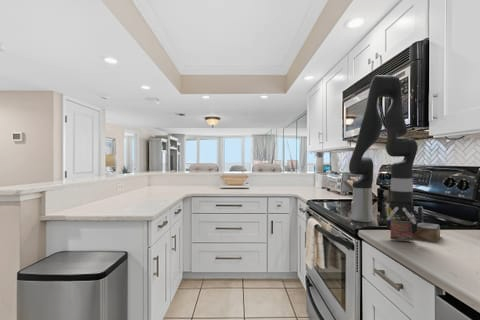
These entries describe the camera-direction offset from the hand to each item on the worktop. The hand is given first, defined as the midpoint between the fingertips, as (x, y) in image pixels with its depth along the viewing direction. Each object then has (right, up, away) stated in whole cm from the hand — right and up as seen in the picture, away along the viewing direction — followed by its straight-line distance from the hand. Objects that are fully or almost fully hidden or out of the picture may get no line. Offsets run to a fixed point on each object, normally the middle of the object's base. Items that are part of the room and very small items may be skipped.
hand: (401, 231), depth 105 cm
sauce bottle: (+9, -4, +21) cm, 24 cm away
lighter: (0, -3, 0) cm, 3 cm away
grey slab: (+12, -4, +5) cm, 13 cm away
